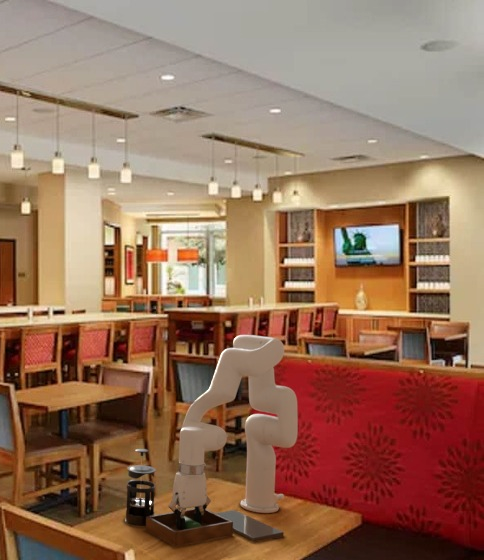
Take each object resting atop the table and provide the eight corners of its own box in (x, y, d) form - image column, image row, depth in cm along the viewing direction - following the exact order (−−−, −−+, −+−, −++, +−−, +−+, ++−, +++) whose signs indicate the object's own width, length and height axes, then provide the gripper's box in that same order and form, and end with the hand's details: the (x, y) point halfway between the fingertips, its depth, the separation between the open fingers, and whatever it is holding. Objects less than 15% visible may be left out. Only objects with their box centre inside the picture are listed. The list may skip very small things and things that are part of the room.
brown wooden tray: (201, 521, 232) (202, 507, 232) (232, 536, 219) (233, 521, 219) (145, 531, 221) (146, 516, 221) (174, 548, 208) (175, 532, 208)
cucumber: (183, 525, 226) (184, 512, 226) (205, 537, 216) (205, 523, 216) (173, 527, 224) (173, 514, 224) (194, 539, 215) (195, 525, 214)
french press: (161, 526, 226) (163, 452, 225) (134, 529, 222) (137, 454, 222) (143, 514, 237) (145, 443, 236) (117, 517, 233) (119, 445, 232)
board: (234, 514, 239) (234, 509, 239) (283, 537, 220) (283, 532, 220) (205, 519, 233) (205, 514, 233) (253, 543, 214) (253, 538, 214)
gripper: (205, 462, 227) (203, 520, 227) (160, 468, 219) (158, 528, 219) (221, 468, 221) (219, 528, 221) (175, 475, 212) (173, 536, 213)
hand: (189, 527), depth 220 cm, fingers open, 5 cm apart
